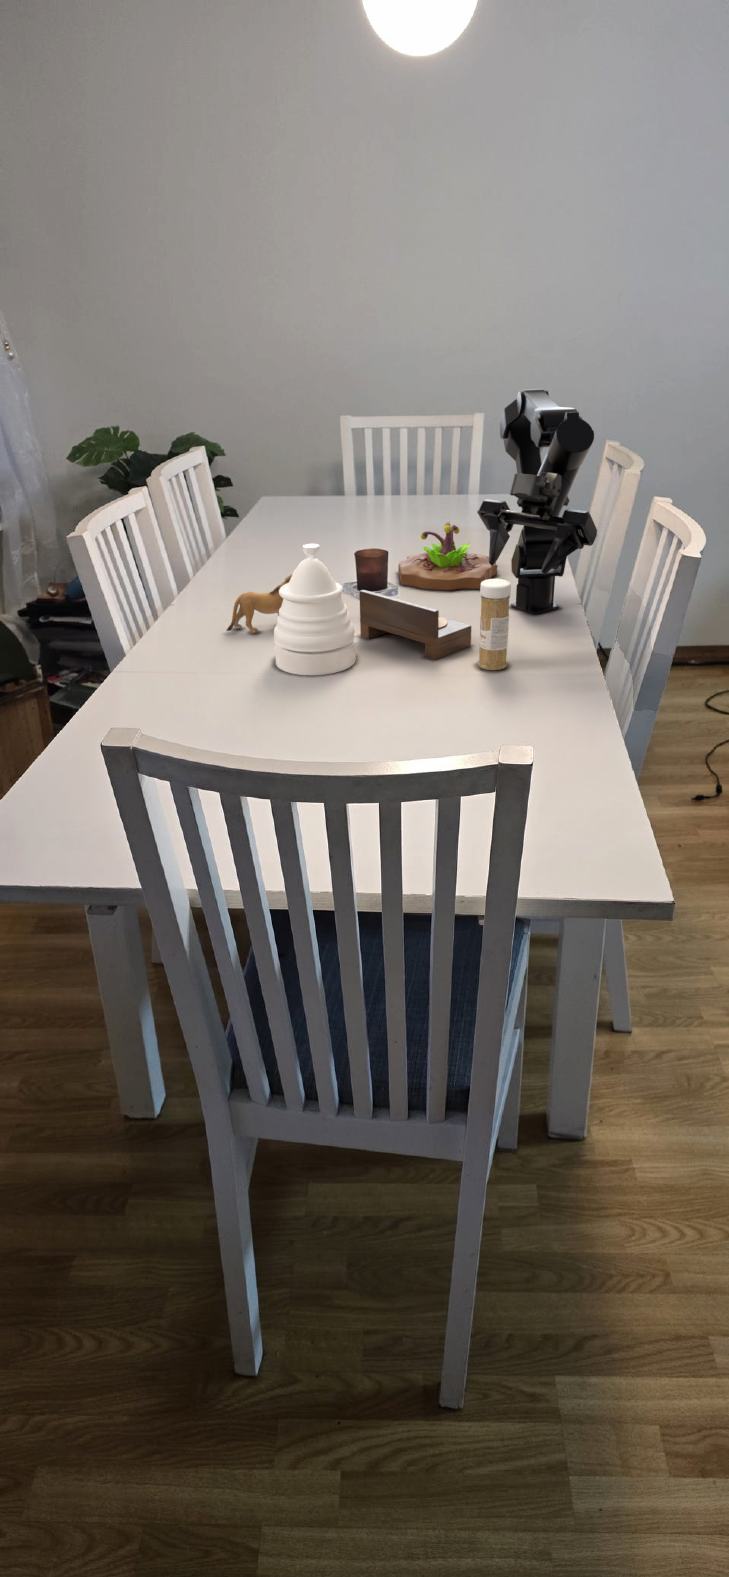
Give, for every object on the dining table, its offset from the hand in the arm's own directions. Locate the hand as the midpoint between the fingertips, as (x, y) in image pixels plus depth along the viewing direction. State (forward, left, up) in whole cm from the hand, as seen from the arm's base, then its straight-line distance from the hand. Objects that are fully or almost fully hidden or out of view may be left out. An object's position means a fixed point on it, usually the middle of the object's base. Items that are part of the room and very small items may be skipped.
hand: (516, 568), depth 154 cm
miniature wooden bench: (+9, -14, -14) cm, 22 cm away
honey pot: (+27, -17, -14) cm, 35 cm away
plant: (-20, -40, -14) cm, 47 cm away
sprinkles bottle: (+7, +3, -14) cm, 16 cm away
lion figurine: (+24, -36, -14) cm, 45 cm away
